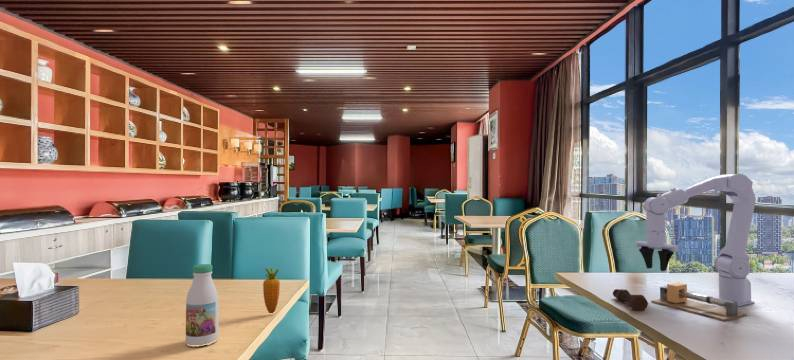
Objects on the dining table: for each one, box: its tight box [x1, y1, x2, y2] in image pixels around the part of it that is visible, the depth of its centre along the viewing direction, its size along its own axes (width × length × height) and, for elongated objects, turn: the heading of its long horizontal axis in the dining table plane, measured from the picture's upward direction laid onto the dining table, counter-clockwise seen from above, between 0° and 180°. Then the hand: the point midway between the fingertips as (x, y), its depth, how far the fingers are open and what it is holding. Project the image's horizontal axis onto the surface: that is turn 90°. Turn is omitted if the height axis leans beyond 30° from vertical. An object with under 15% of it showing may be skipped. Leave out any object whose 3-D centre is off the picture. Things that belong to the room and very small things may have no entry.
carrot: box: [262, 266, 281, 314], centre depth 129 cm, size 5×5×15 cm
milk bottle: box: [185, 263, 220, 345], centre depth 107 cm, size 8×8×20 cm
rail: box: [659, 285, 739, 317], centre depth 134 cm, size 22×3×5 cm, turn 25°
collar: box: [666, 282, 688, 303], centre depth 139 cm, size 3×6×6 cm, turn 115°
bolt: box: [612, 288, 649, 312], centre depth 139 cm, size 6×5×15 cm
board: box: [650, 298, 748, 322], centre depth 134 cm, size 22×12×1 cm, turn 25°
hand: (656, 269), depth 146 cm, fingers open, 4 cm apart
